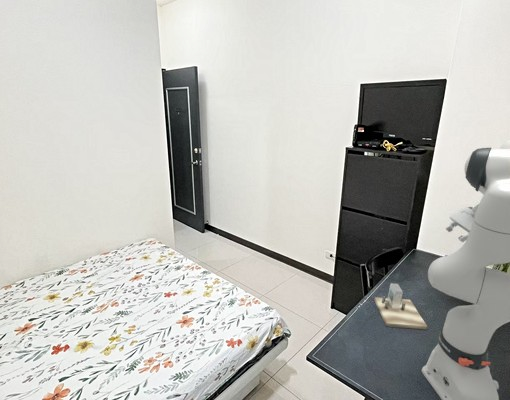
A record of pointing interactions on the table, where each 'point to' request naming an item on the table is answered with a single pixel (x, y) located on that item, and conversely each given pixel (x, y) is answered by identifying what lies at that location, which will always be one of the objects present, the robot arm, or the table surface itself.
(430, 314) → the table surface
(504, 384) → the table surface
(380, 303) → the pin tray
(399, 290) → the drive
